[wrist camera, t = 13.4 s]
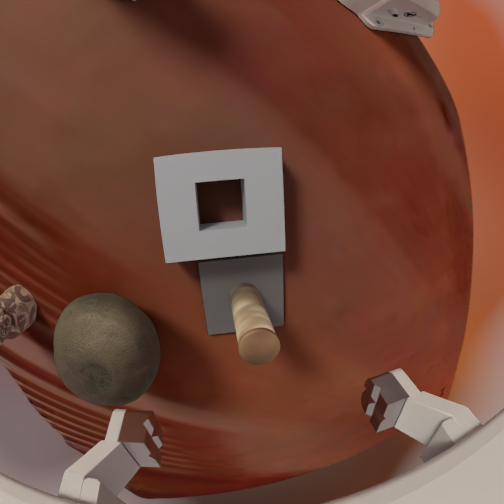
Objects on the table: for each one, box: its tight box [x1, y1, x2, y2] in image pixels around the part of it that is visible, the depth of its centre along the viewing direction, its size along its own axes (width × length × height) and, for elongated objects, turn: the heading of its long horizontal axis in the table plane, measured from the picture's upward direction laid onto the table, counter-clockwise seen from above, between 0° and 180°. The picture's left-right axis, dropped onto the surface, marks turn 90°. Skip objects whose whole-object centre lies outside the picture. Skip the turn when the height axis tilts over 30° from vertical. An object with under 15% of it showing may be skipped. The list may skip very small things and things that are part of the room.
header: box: [154, 147, 285, 263], centre depth 32 cm, size 14×12×4 cm
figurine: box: [0, 285, 37, 345], centre depth 28 cm, size 7×7×12 cm
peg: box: [230, 283, 280, 365], centre depth 32 cm, size 4×4×12 cm
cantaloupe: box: [53, 293, 161, 406], centre depth 30 cm, size 14×14×15 cm
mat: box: [198, 253, 284, 335], centre depth 38 cm, size 11×11×1 cm
